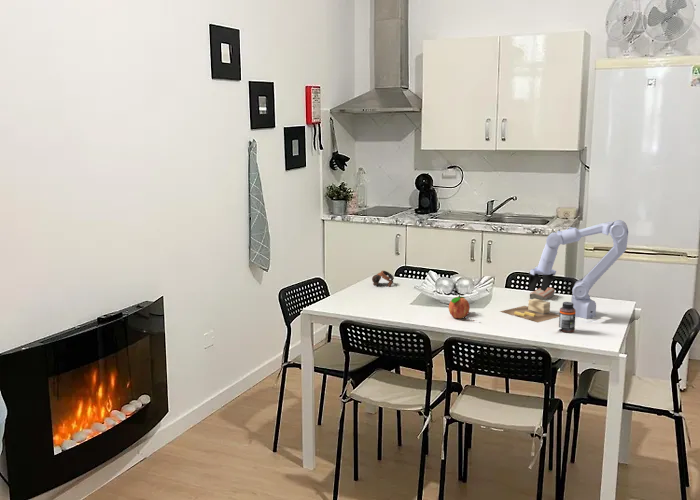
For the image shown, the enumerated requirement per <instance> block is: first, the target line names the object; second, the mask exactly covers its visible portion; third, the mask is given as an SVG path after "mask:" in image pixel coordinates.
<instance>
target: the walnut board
mask: <svg viewBox="0 0 700 500" xmlns="http://www.w3.org/2000/svg"><path fill="white" fill-rule="evenodd" d="M516 311H517V312H520V313H524V312H530V313H533V314H536V316H530V315H527V314H526V316H521V315H517V314H514V312H516ZM499 312H500V313H503V314H506V315H507V314H508V315H511V316H514V317H517V318H521V319H523V320H528V321H531V322H534V323H542V322H545V321H549V320H553V319H557V318H559V316H560V314H557V313H553V312H550V313H548V314H544V315H543V314H539V313H536V312H532V311H528V305H522V306H518V307H513V308H509V309H505V310H500V311H499Z"/></svg>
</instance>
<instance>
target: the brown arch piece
mask: <svg viewBox="0 0 700 500" xmlns="http://www.w3.org/2000/svg"><path fill="white" fill-rule="evenodd" d="M371 279H372V284H373V286H379V283H380V281H381V279H384V280H386V281H387V282H388V284H387V287H388V288H389V287H391V286H392V285H393V283H394V279H395V278H394V276H393V275H392V274H391V273H390V272H389V271H386V270H381V272H378V273H376V274H374V275H373V276H372V278H371Z"/></svg>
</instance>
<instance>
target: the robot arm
mask: <svg viewBox="0 0 700 500" xmlns="http://www.w3.org/2000/svg"><path fill="white" fill-rule="evenodd" d="M598 234H603V235H606V236H609V234H610V236H611V239H612V243H613V246H612V247H611V248H610V249H609V250H608V251H607V252H606V253H605V255H603V257H602V258H600V260H598V262H597V263H596V264H595V265H594V266H593V267H592V268H591V269H590V271H588V273H587V274H586V275H584V276H583V277H582V278H580V279H578V280H576V281H575V283H574V285H573V287H572V295H571V301H570V302H572V303H573V308H574V309H575V310H576V313H575V318H581V319H584V320H588V319H593V318H596V317H597V316H596V315H597V302H596V301H595V300H592V299H591V295H589V292H590V290H591V289H592V288H593V287H594V285H595V284H596V282H597V281H598V280H599V279H601V277H602V276H603V275H605V274H606V272H607V271H608V270H609V269H610V268H611V266H613V265H614V264H615V263H616V261H617V260H619V259H620V257H621V256H622V255H623V254H624V253H625V252H626V250H627V248H628V239H629V228H628V225H627V223H626V222H625V221H624V220H621V219H616V220H614V221H606V222H601V223H598V224H594V225H591V226H588V227H584V228H580V229H579V228H577V227H572V226H569V227H568V228H567V229H564V230H557V231H555V232H554V231H553V232H551V233H549V235H547V237H546V239H545V240H546V241H545V244H544V248H543V250H542V252H541V255H540V259H539V262H538V264H537V266H535V268H531V269H530V271H529V272H528V274H527V275H528V280H529V283H528V286H529V287H528V289H529V291H531V292H534V291H536V288H537V285H538V283H539V282H540V280H541V284H540V288H541V290H543V291H545V290H546V289H547V287H549V286H550V284H551V283H552V282H553V281H554V280H555V279H556V276H555V275H556V273H557V270H555V269H553V266H554V263H555V261H556V258H557V256H558V250H559V247H560V245H569V244H572V243H576V242H577V243H578V242H579V241H580V240H581V238H584V237H588V236H593V235H594V236H595V235H598ZM539 275H542V277H540V276H539Z"/></svg>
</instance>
